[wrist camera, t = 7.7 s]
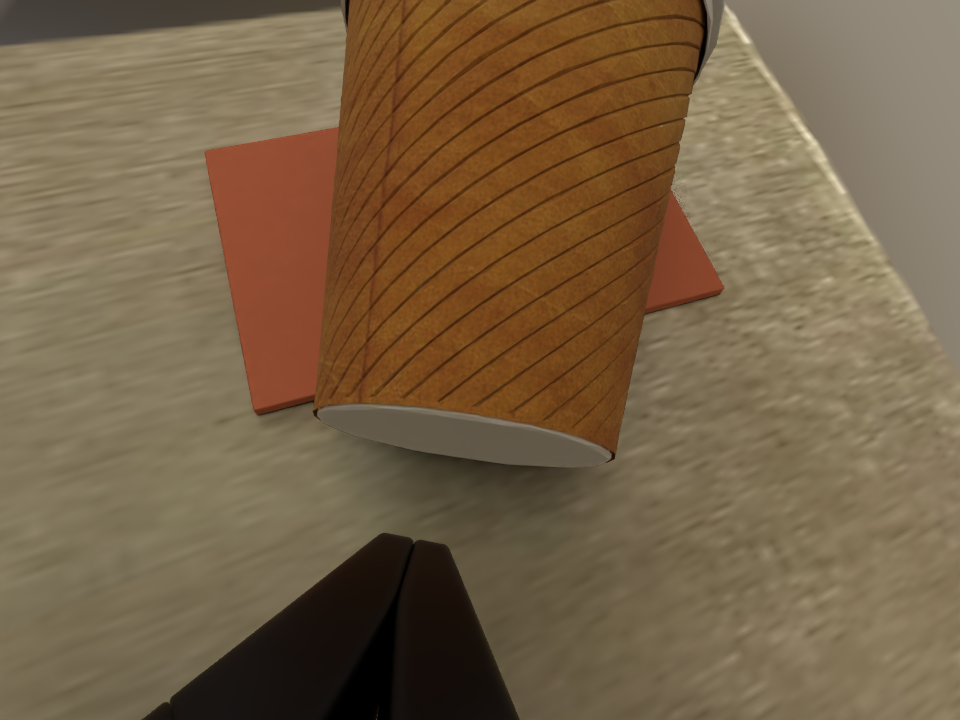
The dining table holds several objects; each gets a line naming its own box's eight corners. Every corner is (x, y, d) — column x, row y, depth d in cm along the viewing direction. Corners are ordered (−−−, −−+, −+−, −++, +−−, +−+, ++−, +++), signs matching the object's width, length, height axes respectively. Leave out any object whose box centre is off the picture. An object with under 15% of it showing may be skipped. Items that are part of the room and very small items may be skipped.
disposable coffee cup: (522, 480, 19) (563, 145, 23) (816, 480, 11) (816, -42, 14) (197, 415, 15) (304, 13, 18) (295, 341, 7) (456, -360, 10)
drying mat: (719, 294, 19) (725, 287, 19) (256, 416, 17) (253, 410, 16) (607, 87, 23) (610, 78, 22) (207, 159, 20) (203, 150, 20)
